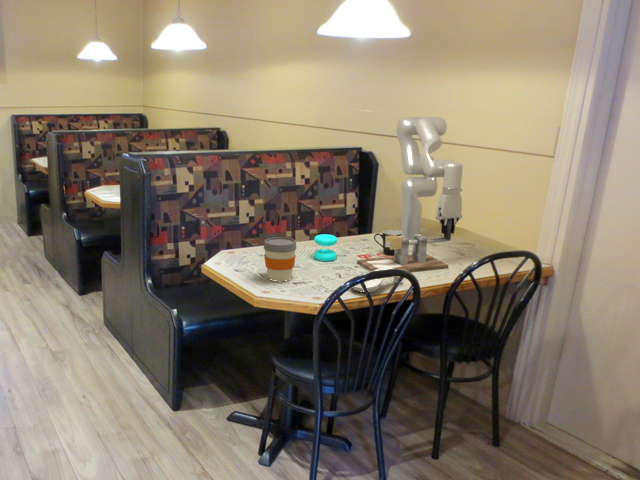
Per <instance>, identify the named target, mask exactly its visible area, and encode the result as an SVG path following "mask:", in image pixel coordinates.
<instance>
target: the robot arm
mask: <svg viewBox="0 0 640 480" xmlns="http://www.w3.org/2000/svg"><path fill="white" fill-rule="evenodd" d="M447 127H448V125H447V123H446V121H445V119H444V118H443V117H441V116H436V117H435V116H422V117H421V116H406V117H402V118H401V119H399V120H398V122H397V124H396V137H397V140H398V142H399V147H400V153H401V164H402V170H403V173H404V174H405V175H410V176H412V177H406V178H404V180H402V182H401V185H400V188H401V200H402V203H401V215H400V216H401V218H400V230H398V231H399V232H401V233H402V234H401V236H403V237H406V238H408V239H409V240H413V237H414V235H416V234H420V235H421V225H422V224H421V223H422V209H423V206H422V203H421V202H420V200H419V198H422V197H425V198H426V197H427V198H428V197H433V196H435V195H436V194H437V192H438V178H443V180H442V181H443V182H442V191H441V192H442V193H441V194H440V195H439V198H438V202H437V205H436V216H435V220H436V221H438V222H439V223H440V225H441V230H440V232H441V234H443V235H444V234H447V227H448V226H447V225H446V224H447V219H448V218H451V219H452V230H451V235H454V234H455V228H456V225H457V223H458V222H459V220H461V219H462V218H463V215H462V211H463V210H462V209H463V200H462V195H461V192H463V188H462V180H463V179H462V178H463V167H464V166H463V164H462V163H460V162H458V161H457V162H456V161H455V160H452V159H434V158H433V157H432V156H431V155H430V154H432V153H435V152H436V151H438V150H439V149H440V148H441V146H442V144H443V139H442V138H441V136H443V135H445V134H446V132H447ZM413 136H418V139H419V140H420V143H421V145H422V149H421V152H420V149H419V144H418V142H417V141H416V139H415V138H414V137H413ZM416 175H418V176H416ZM419 175H421V176H419ZM422 175H423V176H422ZM413 176H414V177H413Z"/></svg>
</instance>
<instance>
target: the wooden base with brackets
mask: <svg viewBox="0 0 640 480" xmlns="http://www.w3.org/2000/svg"><path fill="white" fill-rule="evenodd" d="M399 237H401V238H402V249H395V252H394V256H385V257H384V256H383V257H374V258H366V259H365V258H363V259H357V260H356V264H357V265H359V267H362V268H364V269H365V270H368V271H369V272H370V271H374V270H377V269H379V268H382V267H391V268H393V269H404V270H407V271H409V273H415V272H416V273H417V272H425V271H426V272H427V271H432V270H433V271H434V270H443V269H449V264H448V263H445V262H443V261H441V260H439V259H438V258H436V257H433V256H431V255H429V254H427V249H428V248H427V247H428V243H427V239H428V237H427V236H425V235H422V234H421V233H420V234H416V235H414V237H413V240H417V239H419V244H414V245H412V252H411V254H409V246H410V245H409V239H408V238H406V237H403V236H399Z"/></svg>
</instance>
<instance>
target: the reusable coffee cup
mask: <svg viewBox="0 0 640 480" xmlns="http://www.w3.org/2000/svg"><path fill="white" fill-rule="evenodd" d="M263 250H264V253H265V254H264V256H263V258H264V264H265V268H266V272H267V279H268V278H269V279H272V280H277V281H285V280H289V279H291V280H292V275H293V269H294V267H295V262H296V250H297V242H296V240H295V239H293V238H291V237H284V236H283V237H282V236H281V237H280V236H278V237H277V236H275V237H274V236H273V237H269V238H266V239H264V243H263ZM269 279H268V280H269ZM289 281H290V280H289Z"/></svg>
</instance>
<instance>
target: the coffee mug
mask: <svg viewBox="0 0 640 480" xmlns="http://www.w3.org/2000/svg"><path fill="white" fill-rule="evenodd" d="M399 231H400V230H393V229H386V230H383V231H382V232H381V233H376V234H374V236H373V239H374V241H375V243H377V244H378V245H379V246H381V247H382V250H383V255H385V256H387V257H393V256H394V252H395V250H391V249H390V247H385V237H386V236H391V235H397V236H401V234H402V233H401V232H399ZM376 236H380V237H381V238H382V244H381V243H380V242H379V241H378V240H377V239H376Z"/></svg>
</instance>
